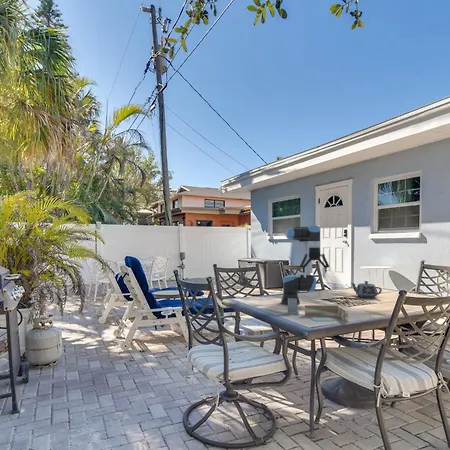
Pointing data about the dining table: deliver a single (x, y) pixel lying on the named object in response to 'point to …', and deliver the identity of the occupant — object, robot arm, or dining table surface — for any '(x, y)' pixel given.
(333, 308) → the wooden corner frame
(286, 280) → the robot arm
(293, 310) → the angle block
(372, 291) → the teapot
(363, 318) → the dining table surface
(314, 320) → the mat
